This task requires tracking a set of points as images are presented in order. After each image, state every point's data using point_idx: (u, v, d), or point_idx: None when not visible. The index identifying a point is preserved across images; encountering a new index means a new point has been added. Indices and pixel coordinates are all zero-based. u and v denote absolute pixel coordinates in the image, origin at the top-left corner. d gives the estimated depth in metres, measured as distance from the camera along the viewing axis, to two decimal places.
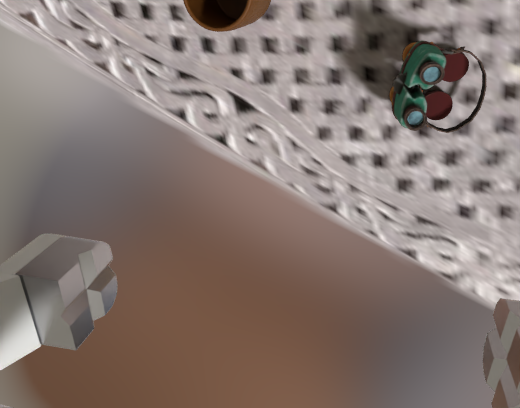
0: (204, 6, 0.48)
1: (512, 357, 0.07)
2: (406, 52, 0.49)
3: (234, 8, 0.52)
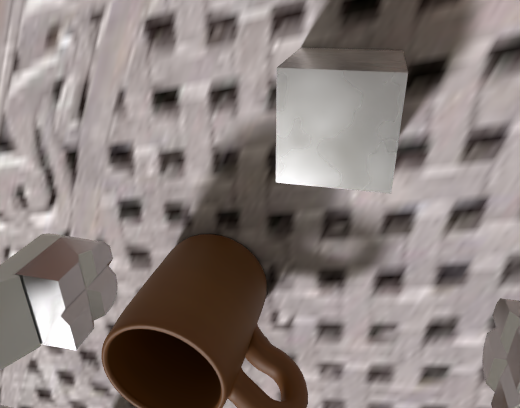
0: None
1: (511, 356, 0.07)
2: None
3: None
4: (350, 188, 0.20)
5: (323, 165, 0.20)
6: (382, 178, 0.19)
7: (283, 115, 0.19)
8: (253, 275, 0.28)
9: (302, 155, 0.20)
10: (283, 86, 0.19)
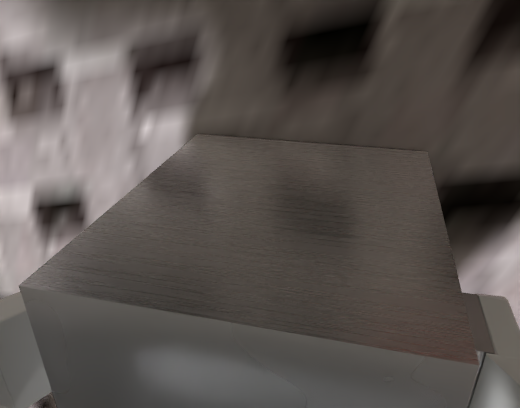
0: None
1: None
2: None
3: None
4: None
5: None
6: None
7: (73, 403, 0.06)
8: None
9: None
10: (54, 336, 0.06)
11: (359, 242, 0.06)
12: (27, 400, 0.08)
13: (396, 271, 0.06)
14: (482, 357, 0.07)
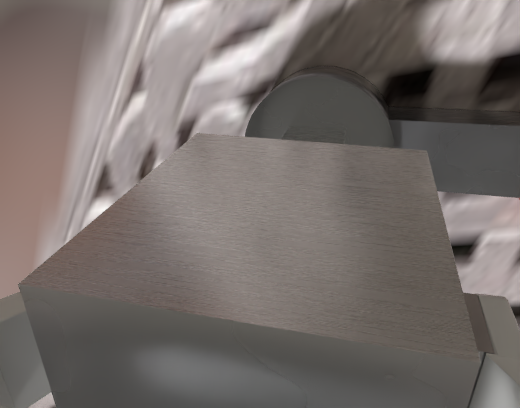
0: None
1: None
2: None
3: None
4: None
5: None
6: None
7: (73, 402, 0.06)
8: None
9: None
10: (53, 334, 0.06)
11: (359, 240, 0.06)
12: (27, 400, 0.08)
13: (397, 269, 0.06)
14: (482, 357, 0.07)
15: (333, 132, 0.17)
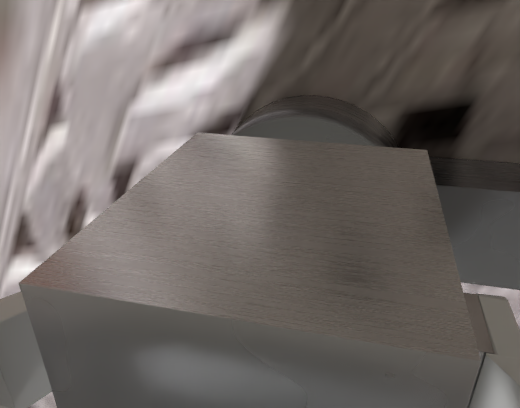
0: None
1: None
2: None
3: None
4: None
5: None
6: None
7: (73, 401, 0.06)
8: None
9: None
10: (54, 334, 0.06)
11: (359, 239, 0.06)
12: (27, 400, 0.08)
13: (397, 268, 0.06)
14: (482, 357, 0.07)
15: None
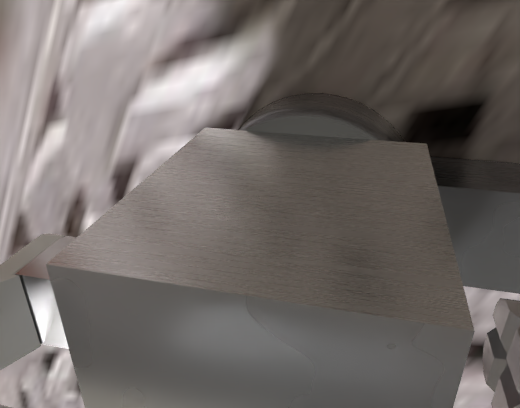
0: None
1: (511, 357, 0.07)
2: None
3: None
4: None
5: None
6: None
7: (94, 377, 0.07)
8: None
9: None
10: (78, 312, 0.06)
11: (362, 225, 0.07)
12: None
13: (397, 251, 0.06)
14: None
15: None
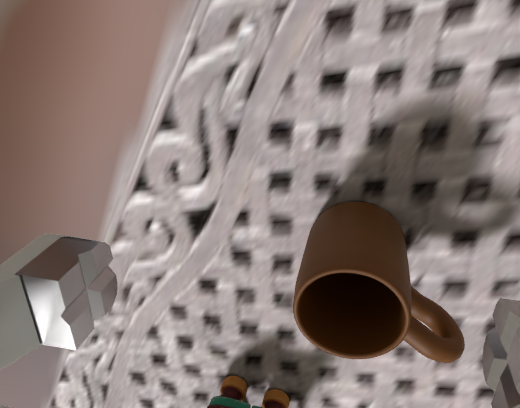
0: None
1: (512, 357, 0.07)
2: (278, 400, 0.45)
3: None
4: None
5: None
6: None
7: None
8: (401, 235, 0.33)
9: None
10: None
11: None
12: None
13: None
14: None
15: None
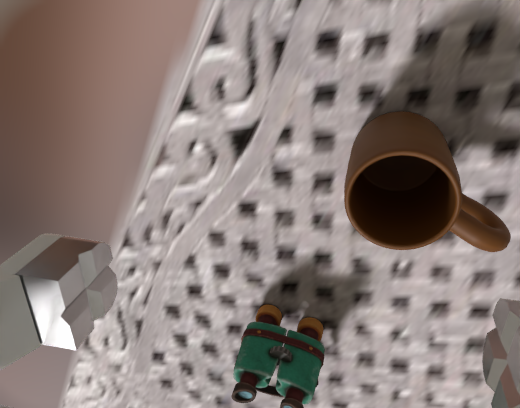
0: None
1: (511, 356, 0.07)
2: (313, 327, 0.46)
3: None
4: None
5: None
6: None
7: None
8: (445, 141, 0.34)
9: None
10: None
11: None
12: None
13: None
14: None
15: None
